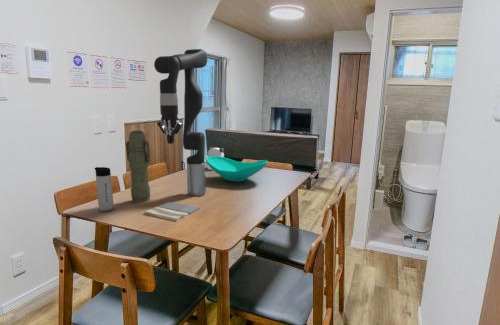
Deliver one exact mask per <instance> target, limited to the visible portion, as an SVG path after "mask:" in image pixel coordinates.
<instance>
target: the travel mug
mask: <svg viewBox="0 0 500 325" xmlns="http://www.w3.org/2000/svg"><path fill="white" fill-rule="evenodd" d="M94 170H95V180H96V181H95V182H96V192H97V193H96V194H97V202H98V211H99V212H101V213H107V212H111V211H113V210H114V207H115V206H114V195H113V185H112V184H113V182H112V175H111V174H112V173H111V168H110V167H105V166H103V167H102V166H100V167H99V166H96V167H94Z"/></svg>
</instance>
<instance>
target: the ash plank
mask: <svg viewBox="0 0 500 325" xmlns="http://www.w3.org/2000/svg"><path fill="white" fill-rule="evenodd" d="M143 214H144V215H146V216H151V217H157V218H161V219H166V220H169V221H175V222H179V221H180V220H182V219H184V218H185V217H188V216H189V215H190V214H189V213H185V212H180V211H175V210H170V209H165V208H160V207H158V206H155V207H153V208H150V209H147V210H145V211H144V212H143Z"/></svg>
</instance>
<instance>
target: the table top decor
mask: <svg viewBox="0 0 500 325" xmlns="http://www.w3.org/2000/svg"><path fill="white" fill-rule="evenodd" d="M205 162H206V164H207V165H208V167H211V168H212V169H213V170H212V171H214V172H215V173H216V174H218V175H219V176H220V177H221V178H223V179H224V180H226V181H229V182H234V183H235V182H238V183H239V182H240V183H241V182H244V181H246V180H247V179H249V178H250V177H252V176H254V175H255V174H257V173H258V172H260V171H261V170H263V169H264V168H265V167H266V166H267V164H268V160H267V159H262V160H261V159H260V160H256V161H253V162H247V161H246V162H245V161H237V160H234V159H231V158H228V157H225V156H224V157H219V156H210V157H208V156H207V157H206V158H205Z"/></svg>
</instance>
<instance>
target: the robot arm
mask: <svg viewBox="0 0 500 325" xmlns="http://www.w3.org/2000/svg"><path fill="white" fill-rule="evenodd" d="M207 63H208V55H207V52H206V51H205V50H204V49H202V48H200V49H199V48H194V49H193V48H192V49H186V50H185V51H184V53H179V54H174V55H163V56H158V57H157V58H156V59H155V60H154V63H153V66H154V69H155V71H156V72H157V73H159V74H163V75H164V74H168V75H167V76H168V77H166V78H164V79H161V80H160V81H159V92H160V93H159V103H160V104H159V105H160V106H159V107H160V115H161V118H160V121H158V122H157V123H156V124H157V126H158V128H159V129H160V131H161V132H162V133H163V134H165V135H166V141H167V144H169V145H171V144H174V142H175V135H177V134H179V132H180V130H181V128H182V127H183V131H182V132H183V134H182V147H183V148H184V150H187V151H188V150H189V151H196V153H195V154H193V155H189V156H187V158H186V177H187V178H186V180H187V181H186V182H187V183H186V185H187V195H188V196H190V197H202V196H205V194H206V193H207V189H206V188H207V185H206V184H207V183H206V177H207V176H206V173H205V172H206V171H205V170H206V169H205V151H206V150H205V147H206V143H205V142H206V140H205V138H206V137H205V134H204V133H203V132H201V131H200V132H197V131H192V127H193V124H194V121H195V120H196V118H197V117H198V116H199V114H200V113H201V110H202V108H203V99H204V98H203V96H204V95H203V93H202V89H201V88H200V86H199V85H198V82H196V79H195V76H194V69H201V68H204V67H206V66H207ZM183 70H184V71H183ZM180 71H183V72H184V100H183V102H184V105H183V107H184V114H183V115H184V116H183V117H184V121H183V122H180V121H179V117H178V115H179V107H178V106H179V104H178V102H179V100H178V94H177V92H178V91H177V87H178V86H177V83H178V78H179V74H180Z"/></svg>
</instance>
